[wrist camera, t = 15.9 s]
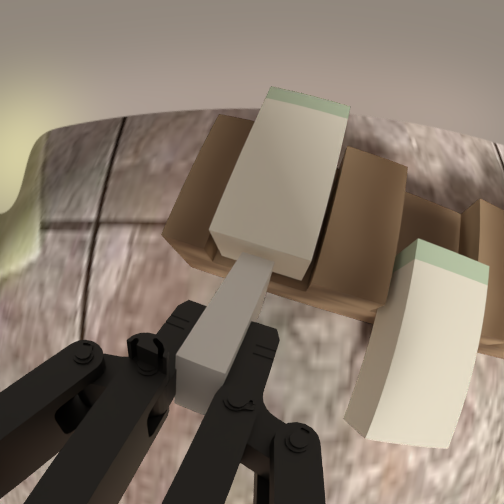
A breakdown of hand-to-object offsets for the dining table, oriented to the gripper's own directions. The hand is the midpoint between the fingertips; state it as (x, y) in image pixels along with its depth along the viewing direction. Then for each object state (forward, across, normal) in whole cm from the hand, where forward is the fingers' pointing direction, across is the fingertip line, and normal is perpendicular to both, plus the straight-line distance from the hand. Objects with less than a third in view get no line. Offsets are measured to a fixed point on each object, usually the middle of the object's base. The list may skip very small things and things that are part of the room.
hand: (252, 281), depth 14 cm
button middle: (+1, +9, -2) cm, 9 cm away
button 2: (+6, 0, +2) cm, 6 cm away
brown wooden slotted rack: (+8, +9, -1) cm, 12 cm away
